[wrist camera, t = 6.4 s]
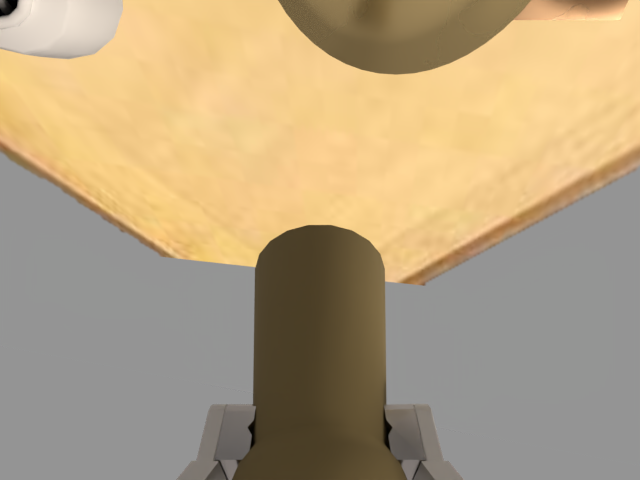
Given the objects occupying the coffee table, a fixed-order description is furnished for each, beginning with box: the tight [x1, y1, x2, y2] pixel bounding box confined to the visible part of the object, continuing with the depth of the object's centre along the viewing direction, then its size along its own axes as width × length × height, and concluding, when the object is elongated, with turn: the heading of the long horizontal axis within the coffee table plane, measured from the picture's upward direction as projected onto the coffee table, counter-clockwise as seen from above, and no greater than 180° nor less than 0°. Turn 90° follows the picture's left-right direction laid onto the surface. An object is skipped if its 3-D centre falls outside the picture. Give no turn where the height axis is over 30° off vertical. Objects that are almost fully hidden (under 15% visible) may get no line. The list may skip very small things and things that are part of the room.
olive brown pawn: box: [232, 225, 407, 480], centre depth 13 cm, size 6×6×11 cm
